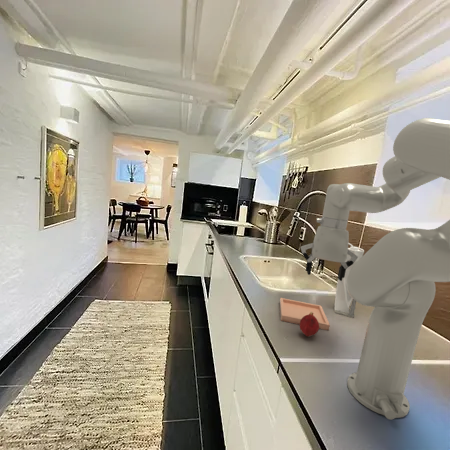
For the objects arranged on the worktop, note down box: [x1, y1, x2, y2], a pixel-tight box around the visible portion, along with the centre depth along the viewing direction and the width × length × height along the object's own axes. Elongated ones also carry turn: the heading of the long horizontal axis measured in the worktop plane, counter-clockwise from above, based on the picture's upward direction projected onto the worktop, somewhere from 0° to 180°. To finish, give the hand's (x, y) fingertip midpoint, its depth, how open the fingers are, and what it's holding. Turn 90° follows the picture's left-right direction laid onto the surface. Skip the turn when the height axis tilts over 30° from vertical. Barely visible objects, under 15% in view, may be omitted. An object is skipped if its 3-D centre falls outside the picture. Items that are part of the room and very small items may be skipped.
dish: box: [279, 297, 331, 332], centre depth 99 cm, size 16×16×2 cm
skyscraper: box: [333, 242, 365, 319], centre depth 107 cm, size 8×8×28 cm
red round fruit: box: [299, 312, 320, 337], centre depth 84 cm, size 6×6×8 cm
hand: (323, 276), depth 86 cm, fingers open, 9 cm apart
